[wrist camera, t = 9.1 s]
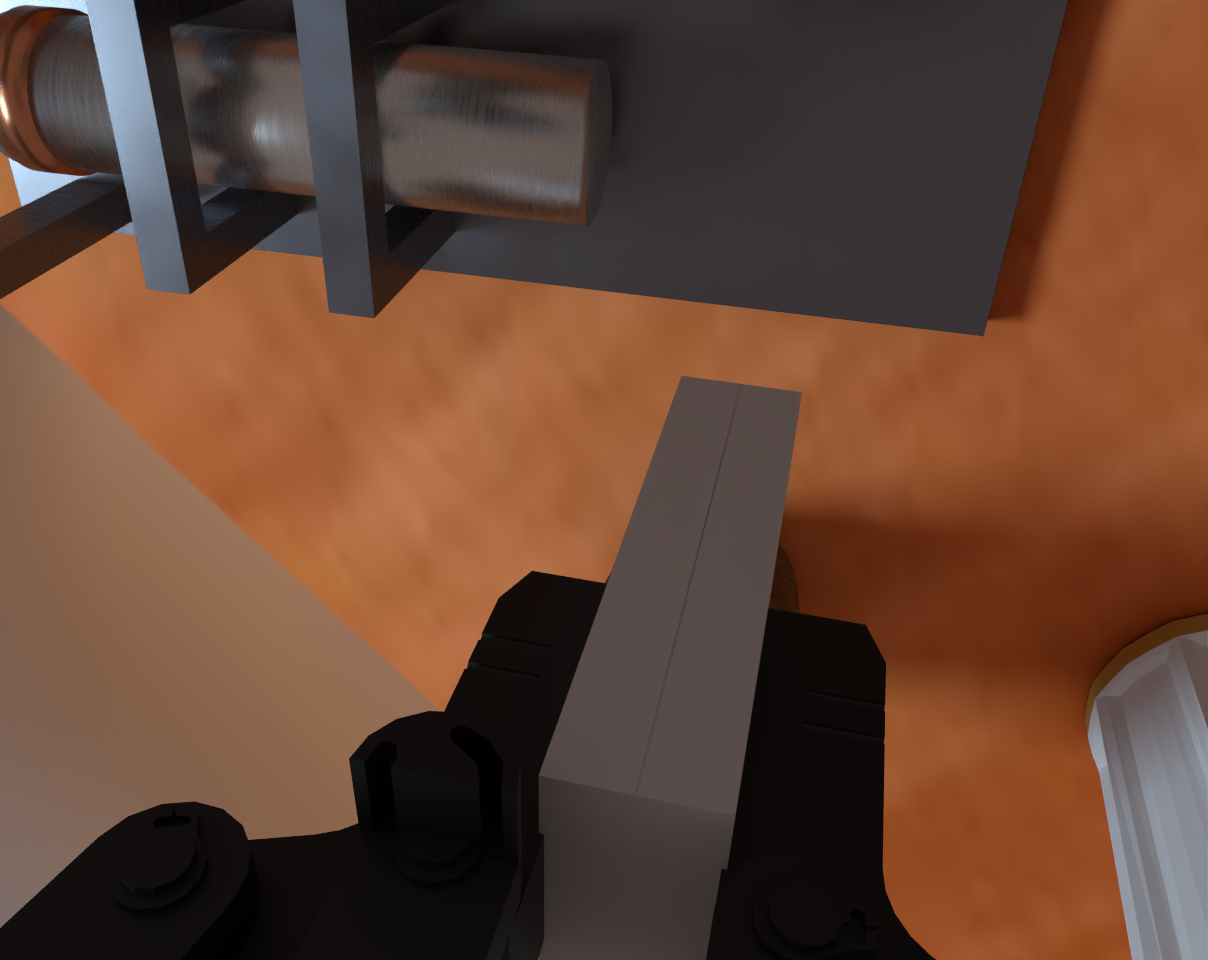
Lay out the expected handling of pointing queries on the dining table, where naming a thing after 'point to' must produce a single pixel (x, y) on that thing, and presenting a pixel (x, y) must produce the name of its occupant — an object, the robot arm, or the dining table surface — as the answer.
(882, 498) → the dining table surface
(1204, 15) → the dining table surface
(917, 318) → the collar rail
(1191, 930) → the cup
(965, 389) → the dining table surface
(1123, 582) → the dining table surface
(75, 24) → the tube
